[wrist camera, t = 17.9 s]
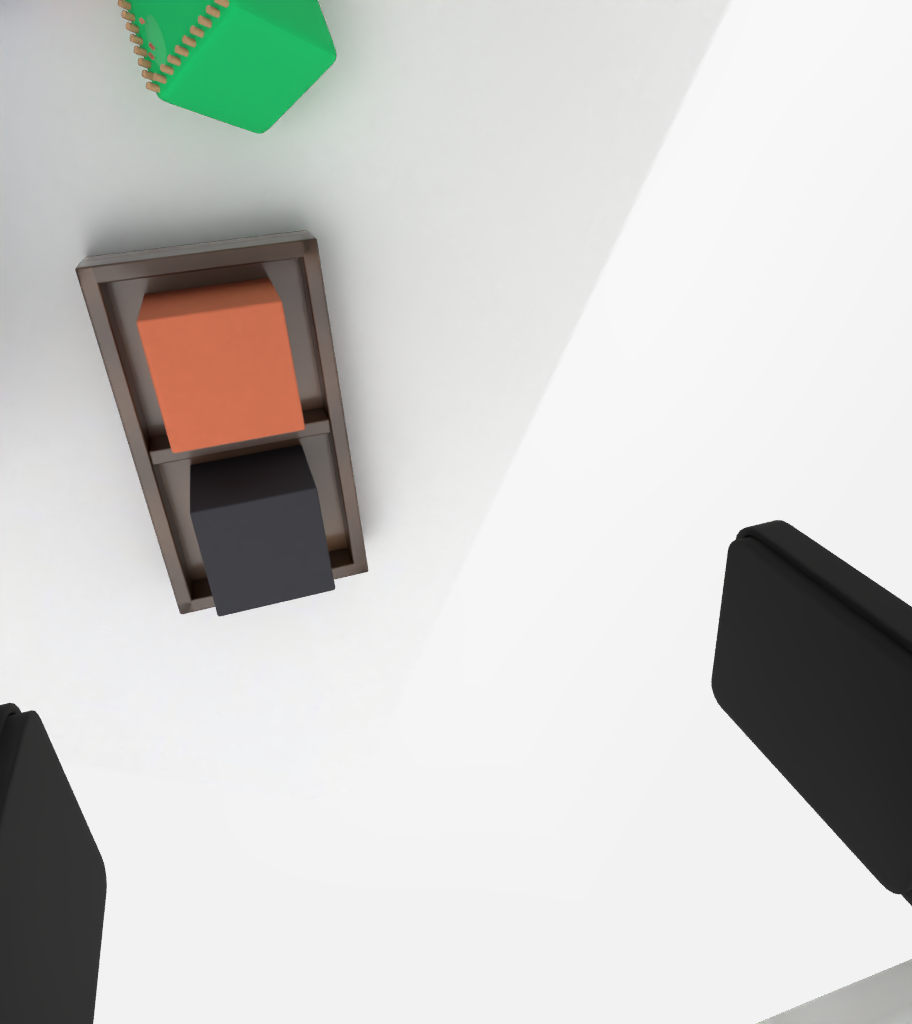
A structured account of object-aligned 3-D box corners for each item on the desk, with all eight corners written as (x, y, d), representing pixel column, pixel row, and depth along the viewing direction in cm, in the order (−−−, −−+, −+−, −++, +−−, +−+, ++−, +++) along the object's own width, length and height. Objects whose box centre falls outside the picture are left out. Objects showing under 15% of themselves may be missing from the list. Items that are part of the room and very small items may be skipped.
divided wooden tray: (83, 257, 27) (74, 268, 25) (307, 229, 29) (316, 238, 27) (181, 584, 34) (180, 615, 31) (358, 545, 35) (368, 572, 33)
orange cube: (143, 293, 27) (135, 321, 23) (269, 277, 28) (281, 300, 24) (174, 411, 29) (172, 454, 25) (291, 392, 30) (305, 430, 26)
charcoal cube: (189, 464, 30) (189, 513, 27) (301, 443, 31) (317, 487, 28) (215, 559, 32) (218, 617, 29) (319, 537, 34) (335, 590, 30)
